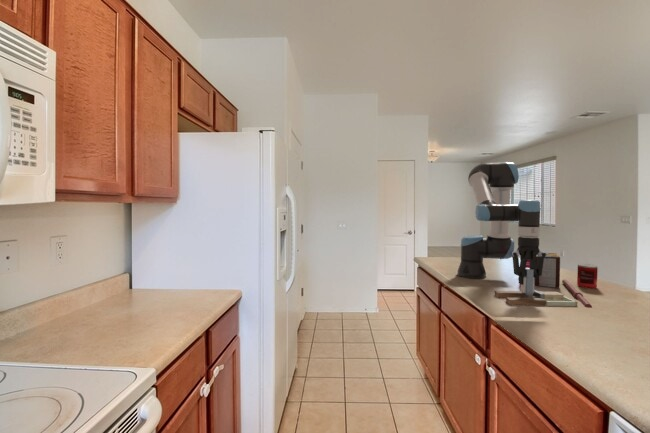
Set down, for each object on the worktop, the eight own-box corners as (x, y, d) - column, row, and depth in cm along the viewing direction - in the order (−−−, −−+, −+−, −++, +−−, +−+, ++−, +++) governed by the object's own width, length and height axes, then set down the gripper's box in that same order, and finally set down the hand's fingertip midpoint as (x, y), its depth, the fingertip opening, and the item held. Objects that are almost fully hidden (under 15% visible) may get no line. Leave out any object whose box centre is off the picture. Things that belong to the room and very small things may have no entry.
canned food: (589, 284, 162) (589, 263, 162) (601, 289, 154) (601, 266, 154) (573, 284, 163) (573, 263, 163) (584, 288, 155) (585, 266, 155)
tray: (527, 298, 140) (527, 292, 140) (554, 298, 139) (554, 292, 139) (546, 308, 126) (547, 301, 126) (577, 308, 126) (577, 302, 126)
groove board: (494, 297, 141) (494, 290, 141) (526, 298, 140) (526, 290, 140) (510, 308, 127) (510, 300, 127) (546, 308, 126) (546, 300, 126)
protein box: (555, 281, 169) (556, 253, 168) (559, 288, 155) (560, 257, 155) (532, 279, 174) (533, 251, 173) (534, 285, 161) (535, 255, 160)
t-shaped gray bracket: (520, 297, 136) (520, 267, 136) (536, 297, 136) (537, 267, 135) (527, 301, 131) (528, 270, 130) (544, 301, 130) (545, 270, 130)
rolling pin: (593, 311, 124) (593, 303, 124) (583, 310, 125) (583, 302, 125) (568, 284, 164) (568, 278, 164) (560, 284, 165) (561, 278, 165)
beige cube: (537, 300, 135) (537, 291, 135) (547, 300, 135) (547, 291, 135) (543, 303, 131) (543, 294, 131) (553, 303, 131) (553, 294, 131)
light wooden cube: (547, 300, 135) (547, 291, 135) (556, 301, 135) (557, 291, 134) (553, 303, 131) (553, 294, 131) (563, 304, 131) (563, 294, 130)
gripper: (514, 237, 129) (512, 294, 130) (554, 237, 128) (552, 294, 129) (504, 235, 137) (503, 289, 138) (542, 235, 136) (540, 289, 137)
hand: (527, 291), depth 133 cm, fingers closed on t-shaped gray bracket, 3 cm apart
